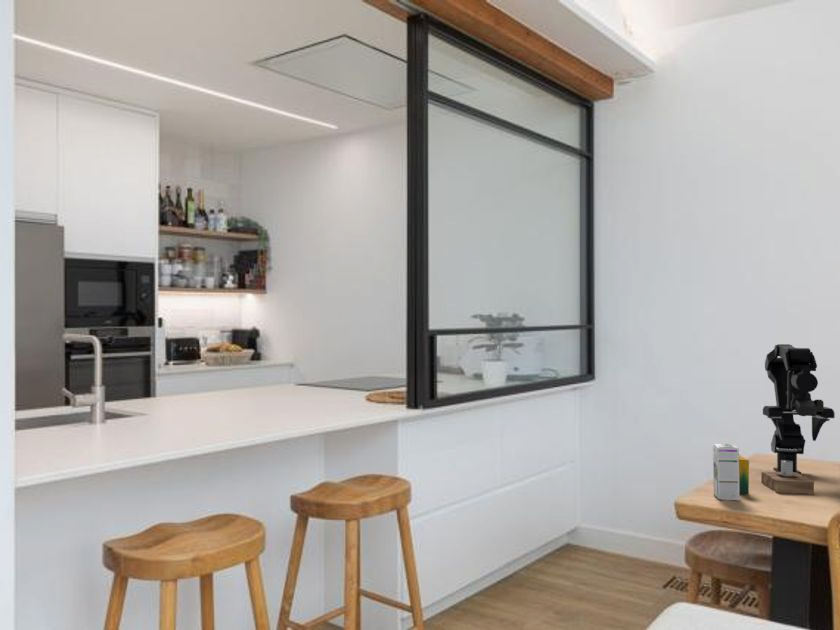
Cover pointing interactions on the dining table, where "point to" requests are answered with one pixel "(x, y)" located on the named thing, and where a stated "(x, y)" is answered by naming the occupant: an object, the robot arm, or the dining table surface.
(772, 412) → the robot arm
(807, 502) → the dining table surface
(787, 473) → the peg
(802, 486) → the hole block
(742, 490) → the crayon box
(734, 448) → the syrup box
